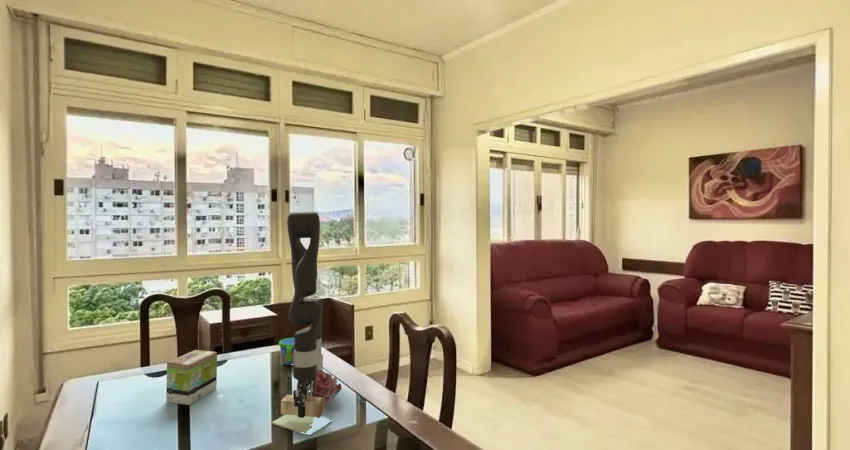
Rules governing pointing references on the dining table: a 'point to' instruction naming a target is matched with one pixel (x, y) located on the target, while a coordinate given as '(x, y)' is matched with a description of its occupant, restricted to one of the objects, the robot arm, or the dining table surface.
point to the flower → (325, 386)
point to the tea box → (191, 376)
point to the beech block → (312, 406)
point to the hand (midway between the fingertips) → (304, 413)
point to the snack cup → (287, 350)
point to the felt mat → (294, 423)
